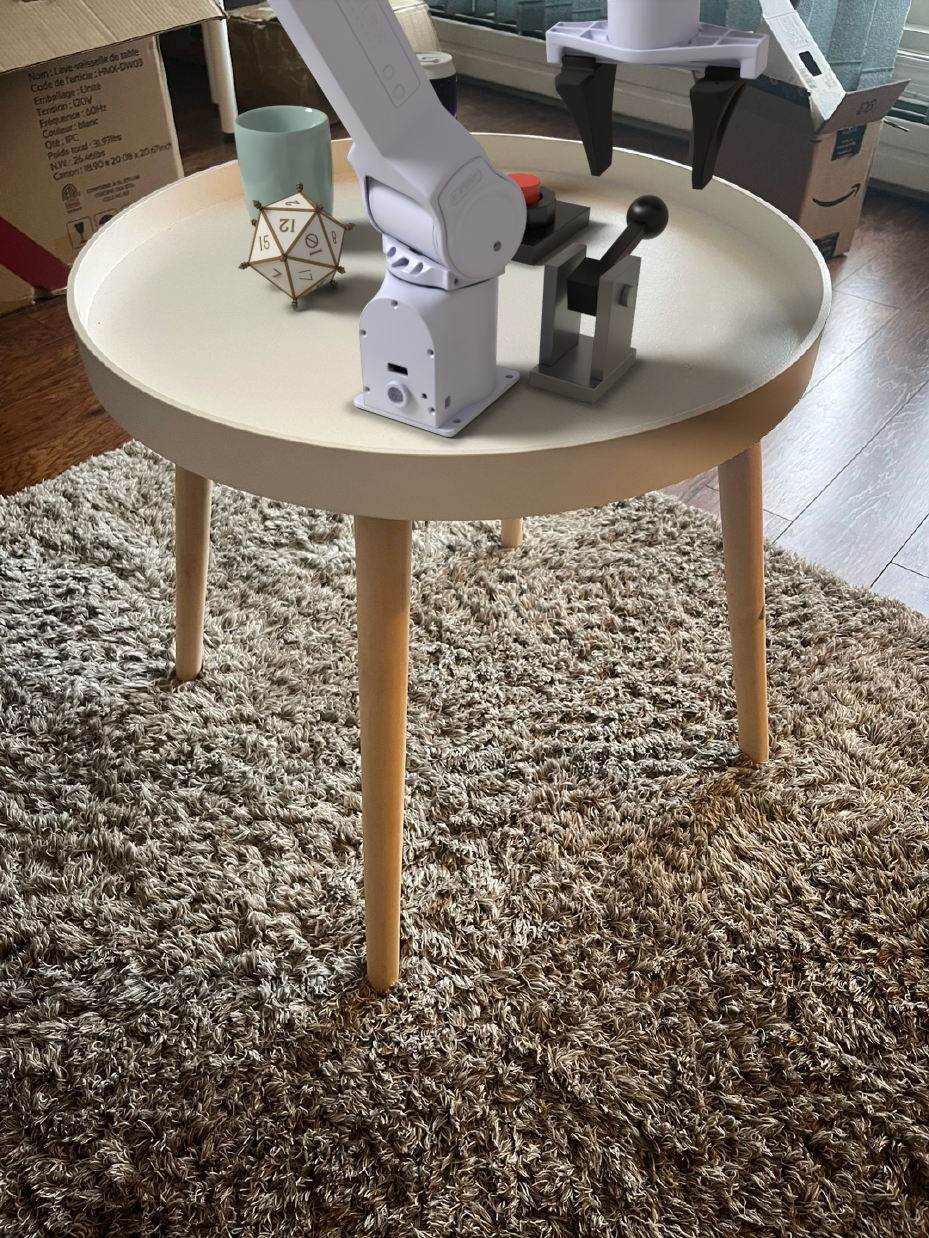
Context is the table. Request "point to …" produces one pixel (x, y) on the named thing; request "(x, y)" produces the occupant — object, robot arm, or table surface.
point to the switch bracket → (576, 357)
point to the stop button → (528, 186)
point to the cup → (284, 155)
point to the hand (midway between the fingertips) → (650, 176)
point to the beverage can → (441, 77)
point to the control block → (549, 226)
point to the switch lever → (616, 252)
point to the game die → (296, 245)
